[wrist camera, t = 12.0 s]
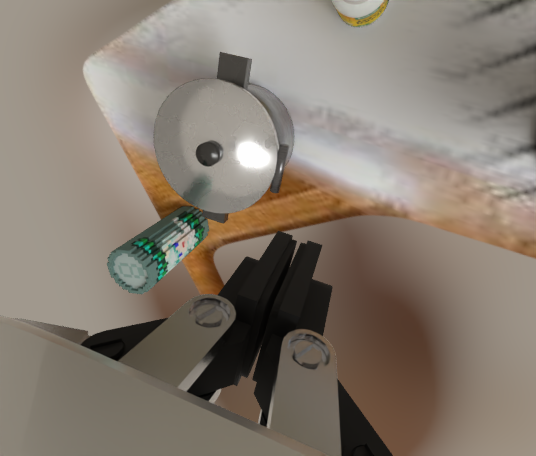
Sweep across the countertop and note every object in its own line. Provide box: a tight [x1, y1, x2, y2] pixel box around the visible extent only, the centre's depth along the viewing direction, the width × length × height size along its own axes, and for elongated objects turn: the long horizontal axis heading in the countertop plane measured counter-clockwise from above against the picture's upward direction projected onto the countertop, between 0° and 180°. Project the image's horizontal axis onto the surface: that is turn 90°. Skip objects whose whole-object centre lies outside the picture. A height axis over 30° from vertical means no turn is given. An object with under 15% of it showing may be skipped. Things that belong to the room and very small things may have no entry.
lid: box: [154, 79, 289, 213], centre depth 33 cm, size 15×14×2 cm
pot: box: [202, 52, 294, 224], centre depth 38 cm, size 13×19×9 cm
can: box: [107, 206, 209, 294], centre depth 44 cm, size 6×6×15 cm
